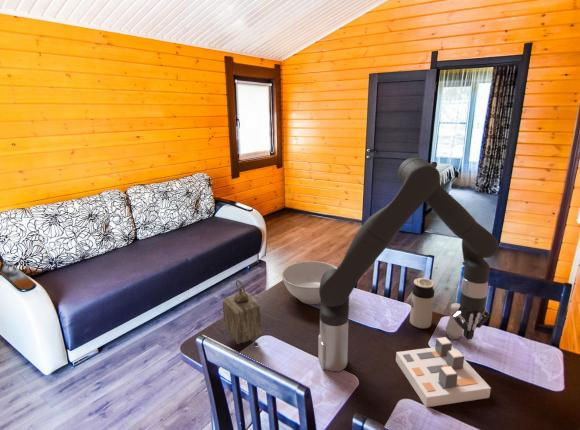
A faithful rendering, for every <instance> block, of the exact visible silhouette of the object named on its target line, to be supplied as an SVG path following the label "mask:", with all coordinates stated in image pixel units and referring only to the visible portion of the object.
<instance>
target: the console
mask: <svg viewBox="0 0 580 430" xmlns="http://www.w3.org/2000/svg"><path fill="white" fill-rule="evenodd" d="M451 350H456V349H455V348H454V347H453V346H452V348H451ZM395 355H396V356H395V362H396V363H397V365H398V367H399V368H400V370H401V372H402V373H403V375H404V377H406V379H407V380H408V382H409V384H410V385H411V386H412V388H413V389H414V391H415V393H416V394H417V395H418V397H419V399H420V401H421V402H422V403H423V405H424V408H431V407H436V406H443V405H444V406H445V405H450V404H456V403H462V402H470V401H476V400H483V399H490V395H491V389H492V387H490V385H489V384H488V383H487V382H486V381H485V379H484V378H482V377H481V376H480V375H479V373H478V372H477V371H476V370H475V369H474V368H473V367H472V366H471V365H470V364H469V362H467V361H466V359H465V358H464V363H463V369H457V370H454V371H455V372H456V373H457V375H458V376H457V384H456V387H451V388H444V386H443V385H442V384H441V382H440V381H439V380H438V379H439V371H440V368H441V367H448V364H447V363H446V358H447V356H440V355H439V354H438V352H437V351H436V350H435V346H434V347H425V348H417V349H411V350H404V351H403V350H402V351H396V353H395Z"/></svg>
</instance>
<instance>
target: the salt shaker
mask: <svg viewBox="0 0 580 430" xmlns="http://www.w3.org/2000/svg"><path fill="white" fill-rule="evenodd" d="M459 307H460V303H457V302H455V303H454V302H453V303H451V305H450V311H451V313H450V316H449V319H448V322H447V324H446V327H445V332H446V334H447V337H449V339H453V340H458V339H459V338H460V337H462V335H463V331H464V330H463V329H462V328H461V327H460V326H459V325H458V324H457V322H456V321H455V320H454V319H453V317H452V316H451V314H453V313H454V314H456V313H457V312H458V309H459ZM461 321H462V322H463V317H462V316H461Z"/></svg>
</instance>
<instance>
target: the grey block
mask: <svg viewBox="0 0 580 430" xmlns="http://www.w3.org/2000/svg"><path fill="white" fill-rule="evenodd" d="M457 376H458V375H457V373H456V372H455V371H454V370H453V368H452V367H451V366H448V367H441V368H440V371H439V379H438V380H439V381H440V382H441V384H442V385H443V386H444V388H451V387H456V384H457Z"/></svg>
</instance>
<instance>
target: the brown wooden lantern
mask: <svg viewBox="0 0 580 430" xmlns="http://www.w3.org/2000/svg"><path fill="white" fill-rule="evenodd" d="M238 283H239V284H240V285H241V287H239V284H238ZM235 286H236V289H237V290H238V291H237V292H236V293H235V294H233V295H230V296H226V298H224V299H223V302H222V309H223V319H224V320H223V321H224V327H225V329H226V330H227V332H228V333H229V335H230V336H231V338H232V339H233V340H234V341H235V343H236V345H240V344H241V343H242V344H243V343H246V342H248V341H251V342H253V347H255V346H258V347H259V343H258V342H256V341H255V339H256V338H259V337H261V336H262V334H263V333H262V332H263V331H262V330H263V327H262V326H263V325H262V324H263V323H262V322H263V321H262V312H261V308H260V305H259V303H258V301H257V300H256V299H255V298H254V297H253V296H252V295H251V294H250V293H249V292H247V291H245V290H246V289H245V285H244V284H243V283H242V281H241V280H239V279H236V280H235Z"/></svg>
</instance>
